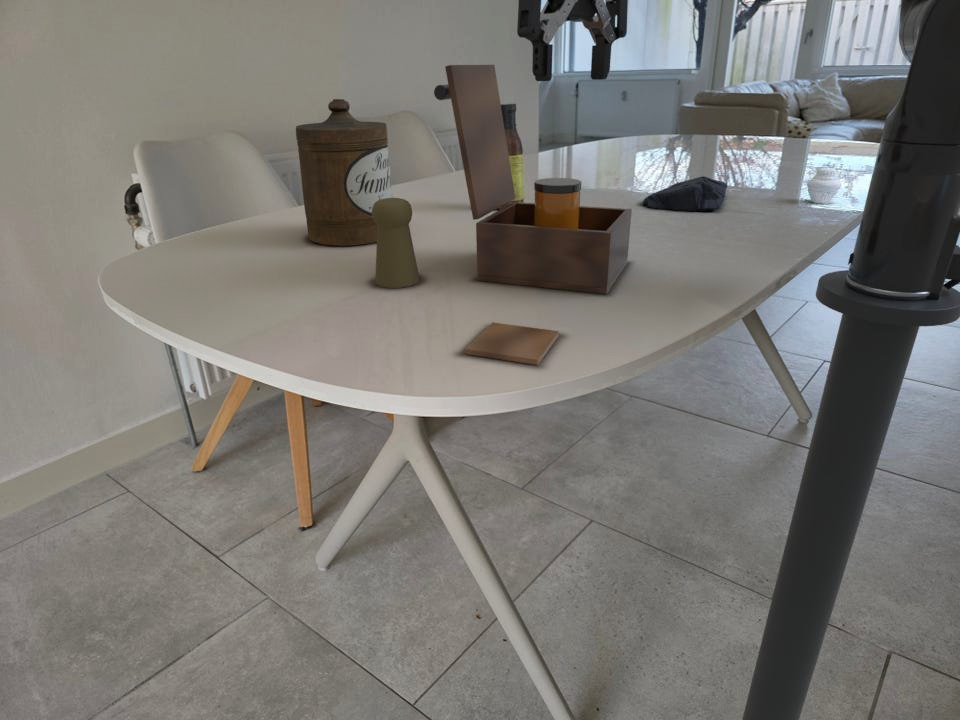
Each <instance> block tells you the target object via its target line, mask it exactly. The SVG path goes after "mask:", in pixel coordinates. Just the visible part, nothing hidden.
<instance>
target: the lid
mask: <svg viewBox="0 0 960 720" xmlns="http://www.w3.org/2000/svg"><path fill="white" fill-rule="evenodd" d="M444 69H445V74H446V79H447V84H438V85H436V86H435V88H434V90H433V95H434V97H435V99H436V100H438V101H446V100H450V101H451V107H452V111H453V117H454V118H453V119H454V123H455V129H456V133H457V139H458V145H459V149H460V150H459V152H460V155H461V160H462V161H461V162H462V166H463V172H464V177H465V182H466V183H465V184H466V187H467V193H468V200H469V205H470V209H471V215H472V220H473V221H475V220H480V219H482V218H483V217H485V216H486V215H488V214H490V213H492V212H494V211H496V210H498V209H497V208H499V207H501V206H503V205H505V204H506V203H508V202H510V201H512V200H514V199H515V193H514V186H513V180H512V174H511V167H510V161H509V154H508V148H507V142H506V135H505V129H504V123H503V116H502V110H501V104H500V103H501V98H500V90H499V86H498V85H499V84H498V79H497V72H496V66H495V64H449V65H445V66H444Z"/></svg>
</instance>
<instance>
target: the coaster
mask: <svg viewBox="0 0 960 720" xmlns="http://www.w3.org/2000/svg"><path fill="white" fill-rule="evenodd" d="M559 337H560V331H559V330H552V329H546V328H537V327H530V326H523V325H516V324H515V325H514V324H507V323H500V322H493V321H492V322H491V323H490V324H489V325H488V326H487V327H486V328H485V329H484V330H483V331H482V332H481V333H480V334H479V335H478V336H477V337H476V338H475V339H474V340H472V342H471V343H470V344H469V345H468V346H467V347H466V348H465V355H469V356H476V357H482V358H490V359H496V360H502V361H509V362H515V363H521V364H522V363H523V364H527V365H534V366H539V364H540V363H541V361H542V360H543V358H544V357H545V356H546V355H547V353H548V352H549V351H550V349H551V348H552V346H553V345H554V344H555V342H556V341H557V340H558V338H559Z"/></svg>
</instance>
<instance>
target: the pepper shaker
mask: <svg viewBox="0 0 960 720" xmlns="http://www.w3.org/2000/svg"><path fill="white" fill-rule="evenodd" d="M372 217H373V220H374V222H375V223H376V224H377V226H378V227H377V242H376V251H375V252H376V254H375V255H376V256H375V276H374V277H375V279H374V284H375V285H376V286H378V287H381V288H385V289H386V288H388V289H401V288H408V287H412V286H415V285H417V284H418V283H419V282H420V275H419V274H420V273H419V269H418V263H417V259H416V258H417V257H416V254H415V248H414V244H413V239H412V233H411V228H410V223H411V221H412V218H413V208H412V205H411V203H410V202H409V201H408V200H407V199H406V198H405V199H404V198H400V197H393V198H385V199H381V200H378V201H376V202H375V203H374V205H373V207H372Z"/></svg>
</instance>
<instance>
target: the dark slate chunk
mask: <svg viewBox="0 0 960 720" xmlns="http://www.w3.org/2000/svg"><path fill="white" fill-rule="evenodd" d="M727 188H728V183H727V182H724V181H721V180H717V179H713V178H711V177H708V176H704V175H703V176H698V177H695V178H691V179H688V180H683V181H679V182H677V183H674V184H671V185H669V187H666V188H663V189H661V190H658V191H655V192H653V193H651V194H649V195H647V196H646V197H645V198H644V199H643V201H642V205H644V206H647V208H649V209H659V210H661V209H662V210H670V211H681V212H682V211H683V212H709V211H710V212H715V211H717V210H719V209H720V208H721V205H723V202H724V199H725V197H726V194H727V193H726V192H727Z"/></svg>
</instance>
